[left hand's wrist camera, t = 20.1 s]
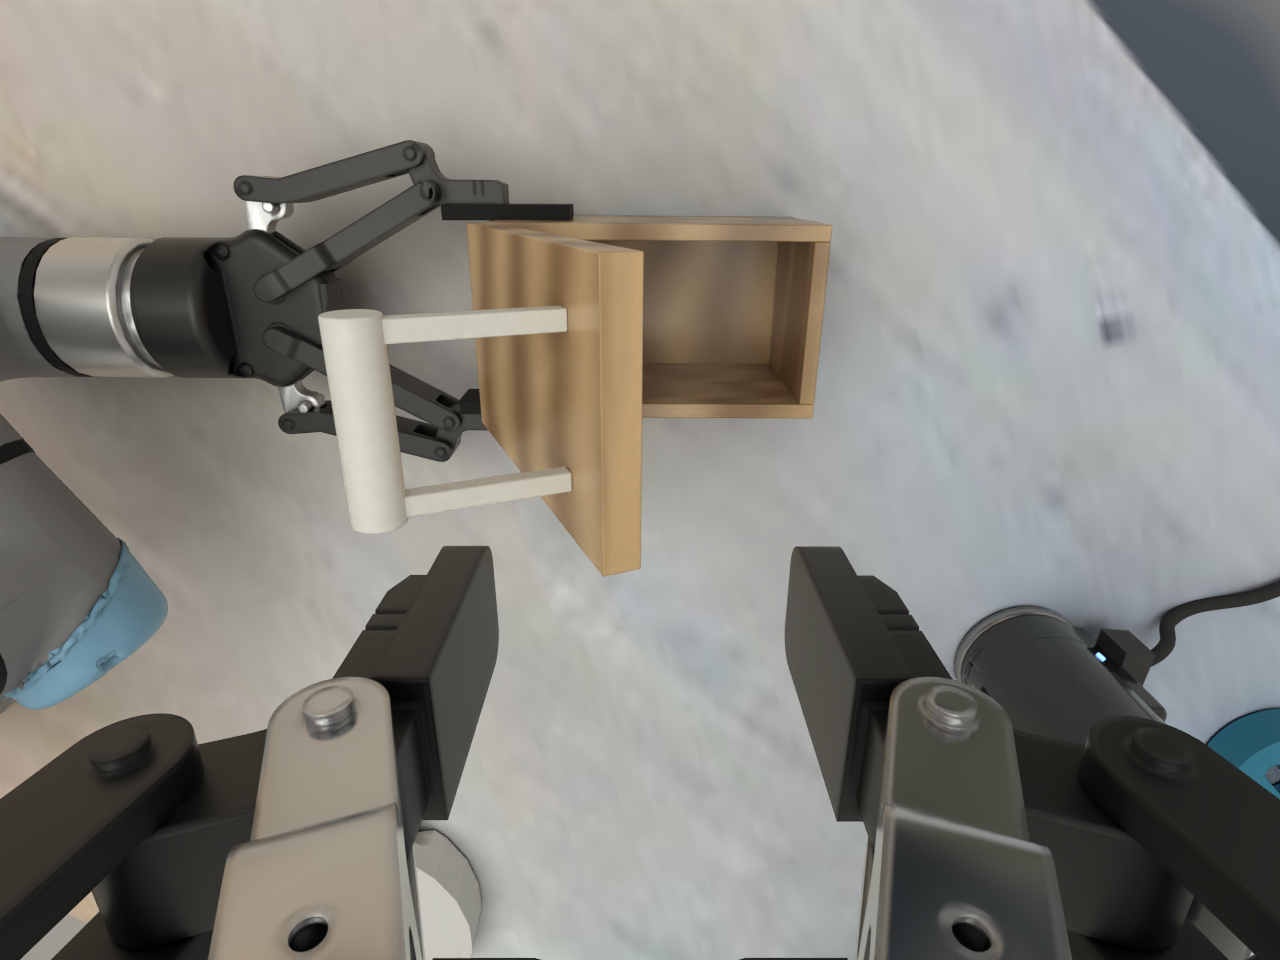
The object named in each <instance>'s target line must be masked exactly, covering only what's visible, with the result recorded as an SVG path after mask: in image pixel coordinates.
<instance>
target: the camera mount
mask: <svg viewBox="0 0 1280 960" xmlns="http://www.w3.org/2000/svg"><path fill="white" fill-rule="evenodd" d="M1207 746H1208V747H1210V748H1211V749H1213V750H1214V751H1215V752H1217V753H1218V754H1219V755H1221V756H1222V757H1223V758H1225V759H1226V760H1227V761H1229V762H1230V763H1231V764H1233V765H1234V766H1236V767H1237V768H1238V769H1240V770H1241V771H1242V772H1244V773H1245V774H1246V775H1248V776H1249V777H1250V778H1252V779H1253V780H1254V781H1256V782H1257V783H1258V784H1260V785H1261V786H1263V787H1264V788H1265V789H1267V790H1268V791H1269V792H1271V793H1272V794H1273V795H1275V796H1276V797H1277V798H1279V799H1280V783H1279V784H1277V785H1274V786H1272V785H1271V783H1270V782H1269V781H1268V780H1267V779H1266V777H1265V774H1266V772H1267V770H1268V769H1269V768H1271V767H1272V766H1275V765H1278V767H1279V768H1280V709H1271V710H1265V711H1260V712H1257V713H1253V714H1250V715H1248V716H1245V717H1243V718H1241V719H1238V720H1236V721H1235V722H1233V723H1231V724H1230V725H1228V726H1227V727H1225V728H1224V729H1223V730H1221V731H1220V732H1219V733H1218V734H1217V735H1216V736H1215V737H1214V738H1213V739H1212V740H1211V741H1210V742H1209V743H1208V745H1207Z"/></svg>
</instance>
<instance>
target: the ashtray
mask: <svg viewBox="0 0 1280 960" xmlns="http://www.w3.org/2000/svg"><path fill="white" fill-rule="evenodd" d="M413 848H414V854H415V860H416V870H417V880H418V890H419V900H420V910H421V920H422V930H423V941H424V951H425V960H432V959H433V958H471V954H472V950H473V945H474V941H475V936H476V931H477V927H478V922H479V917H480V913H481V908H482V905H481V897H480V889H479V883H478V881H477V879H476V877H475V875H474V873H473V871H472V869H471V867H470V865H469V863H468V861H467V859H466V858H465V857H464V856H463V855H462V854H461V853H460V852H459V851H458V850H457V849H456V847H455V846H454V845H453V844H452V843H451V842H450V841H449V840H448V839H447V838H446V837H444V836H443V835H441V834H440V833H438V832H437V831H435V830H431V831H422V832H418V833H417V836H416V839H415V841H414V844H413Z"/></svg>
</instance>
